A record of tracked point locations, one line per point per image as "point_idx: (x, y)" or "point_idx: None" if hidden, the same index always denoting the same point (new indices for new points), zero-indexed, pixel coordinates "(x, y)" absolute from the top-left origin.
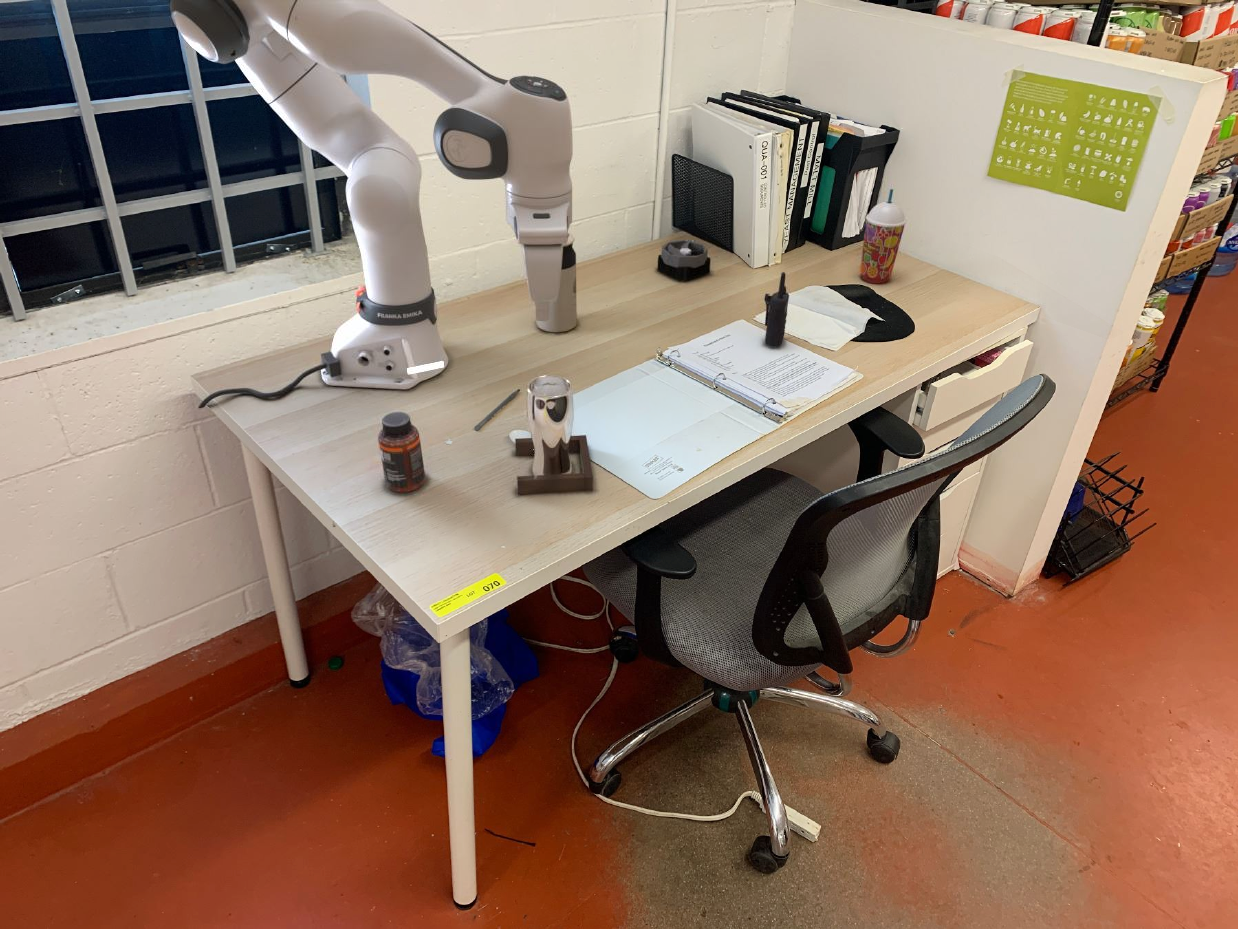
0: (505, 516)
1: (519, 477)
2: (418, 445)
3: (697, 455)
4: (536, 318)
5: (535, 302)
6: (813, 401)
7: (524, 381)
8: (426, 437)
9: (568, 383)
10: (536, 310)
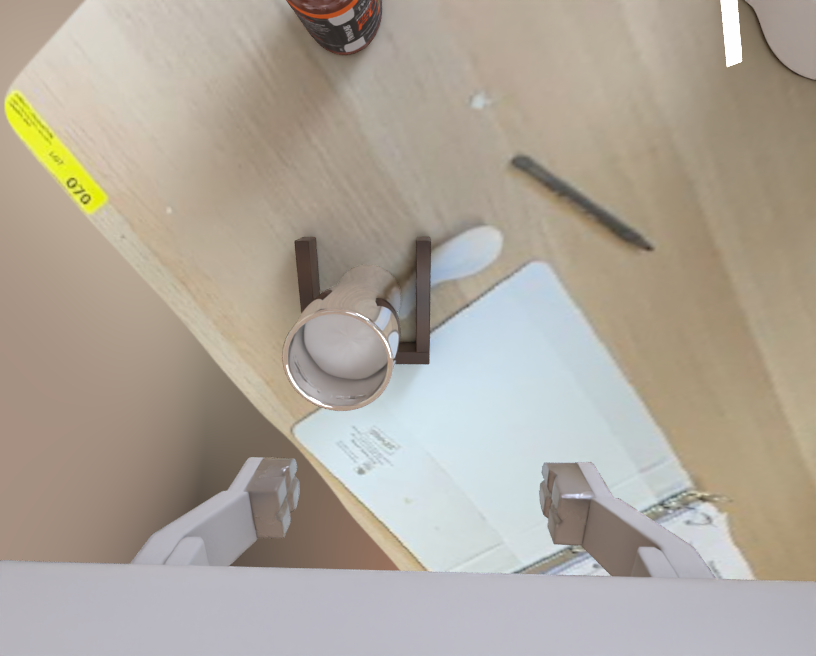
0: (244, 214)
1: (305, 245)
2: (310, 18)
3: (394, 496)
4: (247, 460)
5: (165, 528)
6: None
7: (682, 261)
8: (504, 46)
9: (358, 401)
10: (230, 487)
